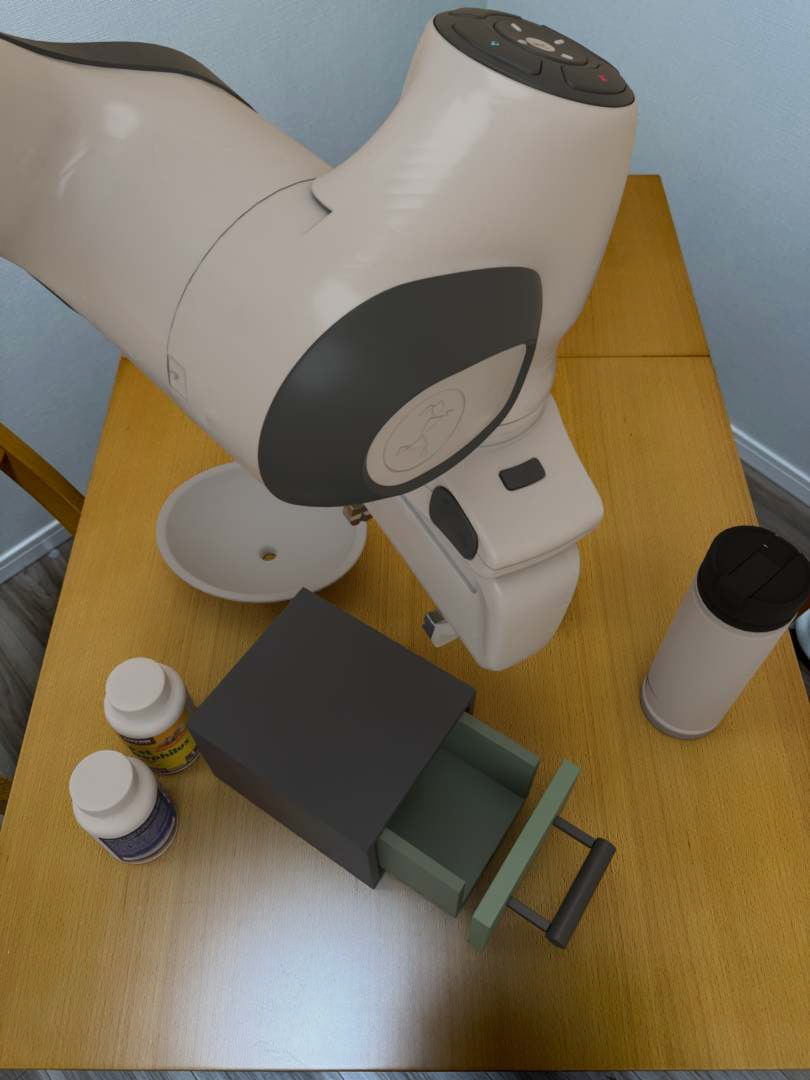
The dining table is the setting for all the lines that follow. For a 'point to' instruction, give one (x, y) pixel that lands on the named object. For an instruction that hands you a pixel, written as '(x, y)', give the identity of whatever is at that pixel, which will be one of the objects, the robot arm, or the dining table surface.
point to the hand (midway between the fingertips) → (396, 571)
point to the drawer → (486, 832)
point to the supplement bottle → (151, 714)
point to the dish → (252, 539)
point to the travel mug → (724, 629)
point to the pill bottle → (123, 806)
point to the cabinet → (328, 728)
